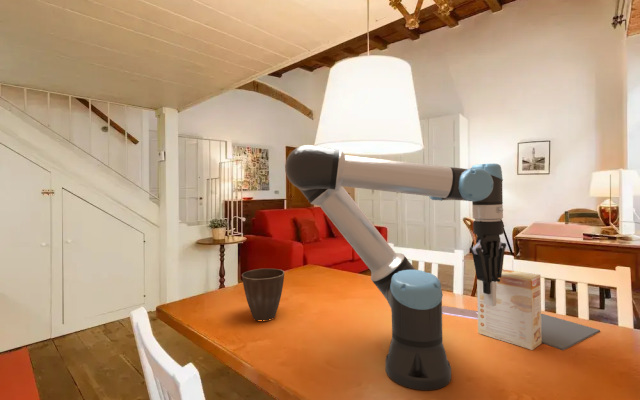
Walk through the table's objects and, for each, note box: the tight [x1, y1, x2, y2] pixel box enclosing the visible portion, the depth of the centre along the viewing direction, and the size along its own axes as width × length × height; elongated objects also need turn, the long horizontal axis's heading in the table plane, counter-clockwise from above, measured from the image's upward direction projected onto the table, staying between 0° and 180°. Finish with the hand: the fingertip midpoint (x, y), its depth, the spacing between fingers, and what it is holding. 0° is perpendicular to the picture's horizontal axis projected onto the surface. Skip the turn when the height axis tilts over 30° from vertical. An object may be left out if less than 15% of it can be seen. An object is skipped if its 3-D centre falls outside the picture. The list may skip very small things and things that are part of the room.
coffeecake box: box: [476, 268, 543, 351], centre depth 96 cm, size 15×7×20 cm, turn 39°
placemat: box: [541, 313, 601, 351], centre depth 103 cm, size 22×22×1 cm
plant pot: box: [241, 268, 285, 321], centre depth 116 cm, size 15×15×16 cm
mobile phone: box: [442, 305, 478, 321], centre depth 116 cm, size 8×1×15 cm
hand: (490, 304), depth 91 cm, fingers closed
